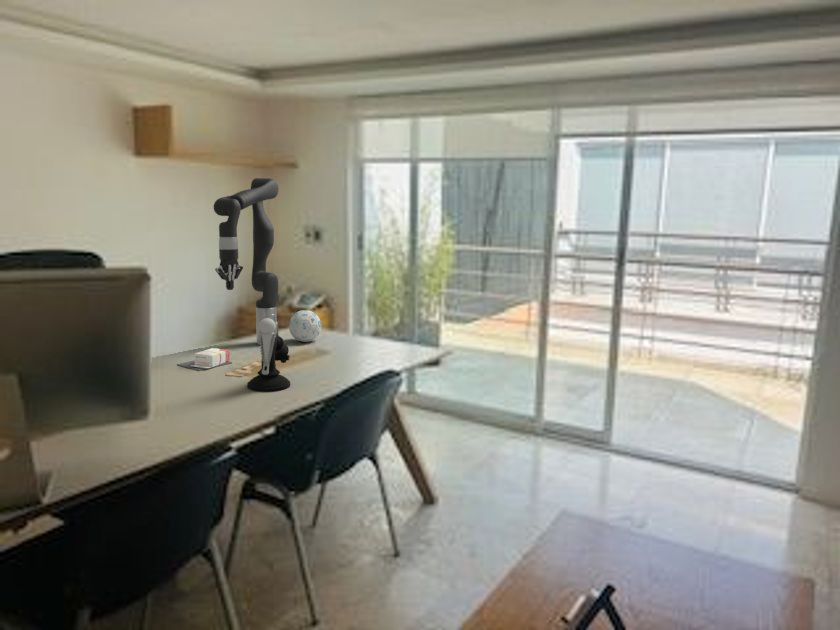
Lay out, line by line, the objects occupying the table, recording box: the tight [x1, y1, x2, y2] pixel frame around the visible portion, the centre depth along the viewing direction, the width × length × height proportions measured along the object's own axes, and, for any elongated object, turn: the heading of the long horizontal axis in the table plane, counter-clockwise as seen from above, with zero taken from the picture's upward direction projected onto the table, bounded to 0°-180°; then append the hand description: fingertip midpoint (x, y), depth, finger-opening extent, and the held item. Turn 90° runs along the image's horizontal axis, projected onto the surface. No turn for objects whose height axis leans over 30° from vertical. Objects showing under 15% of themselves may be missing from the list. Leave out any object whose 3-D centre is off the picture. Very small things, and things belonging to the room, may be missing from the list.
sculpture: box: [246, 318, 291, 393], centre depth 240 cm, size 15×24×25 cm, turn 172°
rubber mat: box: [176, 359, 233, 372], centre depth 266 cm, size 16×14×1 cm
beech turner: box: [225, 360, 262, 378], centre depth 259 cm, size 20×7×1 cm, turn 165°
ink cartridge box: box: [191, 347, 231, 369], centre depth 264 cm, size 9×5×15 cm
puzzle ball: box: [288, 309, 322, 343], centre depth 311 cm, size 15×15×15 cm
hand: (230, 289), depth 273 cm, fingers closed
